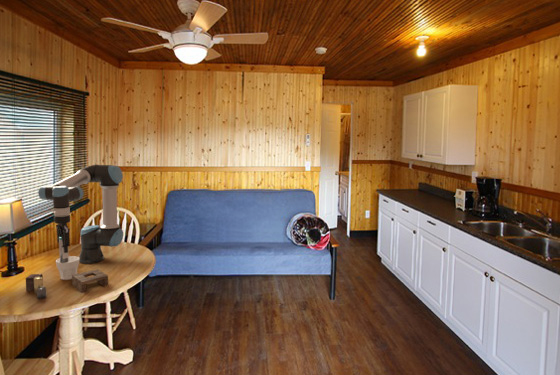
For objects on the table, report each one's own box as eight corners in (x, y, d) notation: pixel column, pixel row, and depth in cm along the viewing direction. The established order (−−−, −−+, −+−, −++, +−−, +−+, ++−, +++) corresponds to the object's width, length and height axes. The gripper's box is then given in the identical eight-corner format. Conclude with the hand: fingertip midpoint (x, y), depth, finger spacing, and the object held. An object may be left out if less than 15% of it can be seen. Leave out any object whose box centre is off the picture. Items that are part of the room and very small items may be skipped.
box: (32, 286, 211) (31, 273, 210) (43, 286, 212) (42, 273, 211) (25, 291, 205) (25, 278, 204) (37, 291, 206) (36, 278, 205)
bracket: (72, 285, 214) (71, 275, 214) (97, 278, 225) (97, 269, 224) (82, 292, 205) (81, 282, 204) (108, 285, 216) (107, 275, 215)
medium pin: (33, 292, 204) (32, 278, 203) (42, 290, 207) (41, 276, 206) (36, 294, 201) (35, 280, 200) (44, 292, 204) (43, 278, 203)
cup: (63, 282, 217) (62, 264, 216) (52, 278, 224) (51, 260, 222) (84, 276, 228) (84, 258, 226) (73, 271, 234) (72, 254, 233)
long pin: (59, 261, 207) (57, 236, 205) (67, 259, 210) (65, 235, 208) (61, 263, 204) (60, 238, 202) (69, 261, 207) (68, 237, 205)
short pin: (36, 297, 198) (35, 288, 197) (44, 295, 201) (44, 286, 200) (38, 299, 195) (38, 290, 194) (47, 297, 198) (46, 288, 197)
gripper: (48, 213, 206) (51, 254, 210) (59, 218, 195) (62, 262, 198) (64, 211, 212) (66, 251, 215) (75, 216, 200) (77, 259, 204)
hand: (64, 256), depth 207 cm, fingers closed on long pin, 4 cm apart
